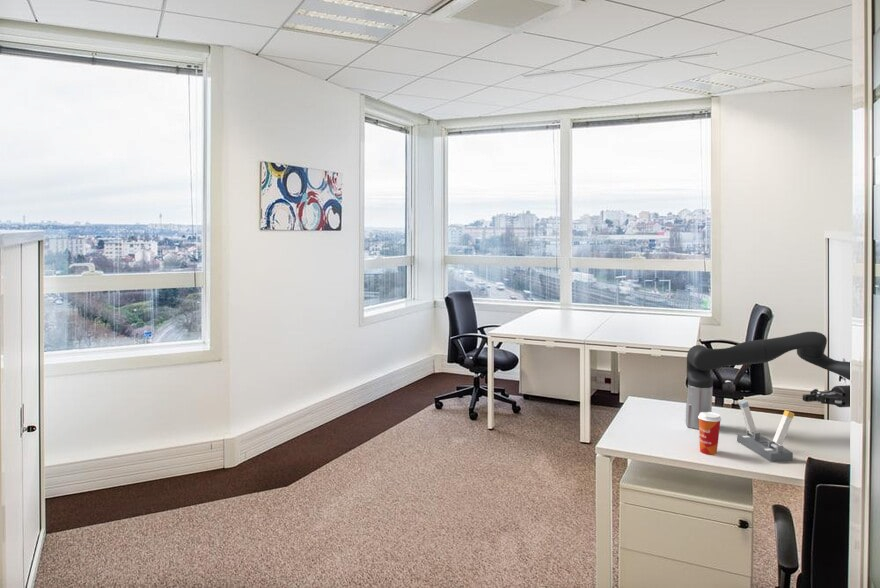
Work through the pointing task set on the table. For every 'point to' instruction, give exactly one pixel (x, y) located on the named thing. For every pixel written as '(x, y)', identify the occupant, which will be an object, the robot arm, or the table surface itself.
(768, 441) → the toggle switch base
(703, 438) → the paper cup
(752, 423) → the toggle
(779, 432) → the toggle
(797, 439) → the table surface
